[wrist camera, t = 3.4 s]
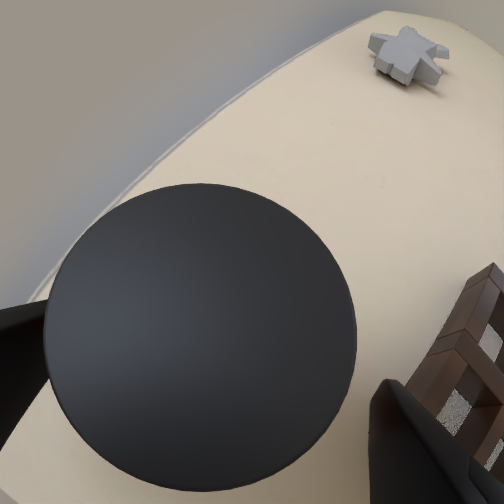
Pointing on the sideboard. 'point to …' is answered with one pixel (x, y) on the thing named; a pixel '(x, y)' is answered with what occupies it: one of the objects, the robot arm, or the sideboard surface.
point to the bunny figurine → (407, 56)
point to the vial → (200, 337)
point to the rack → (469, 367)
